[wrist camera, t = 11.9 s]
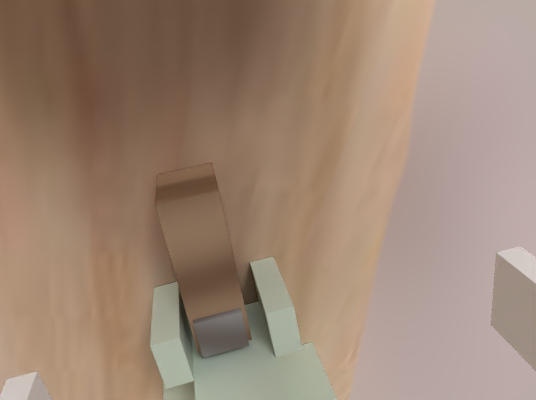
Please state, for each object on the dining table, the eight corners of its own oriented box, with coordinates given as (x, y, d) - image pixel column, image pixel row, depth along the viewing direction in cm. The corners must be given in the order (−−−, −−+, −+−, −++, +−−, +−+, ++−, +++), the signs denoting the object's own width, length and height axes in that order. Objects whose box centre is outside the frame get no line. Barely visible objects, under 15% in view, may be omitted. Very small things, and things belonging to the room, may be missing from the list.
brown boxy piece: (157, 173, 33) (154, 208, 27) (211, 162, 33) (219, 193, 27) (194, 304, 38) (198, 358, 32) (240, 293, 38) (253, 344, 32)
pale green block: (129, 294, 36) (105, 446, 23) (296, 250, 37) (359, 370, 25) (169, 400, 41) (167, 574, 28) (315, 358, 42) (376, 505, 30)
